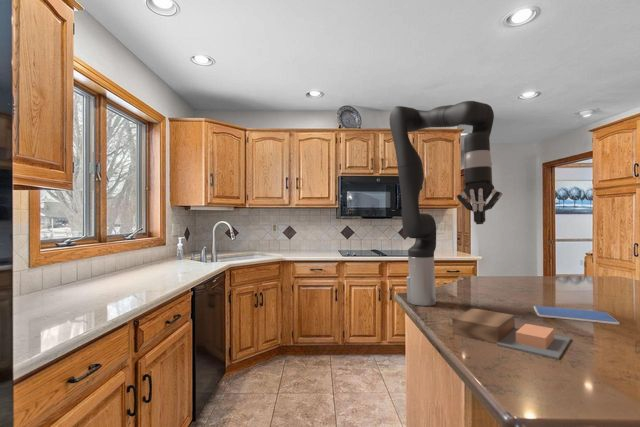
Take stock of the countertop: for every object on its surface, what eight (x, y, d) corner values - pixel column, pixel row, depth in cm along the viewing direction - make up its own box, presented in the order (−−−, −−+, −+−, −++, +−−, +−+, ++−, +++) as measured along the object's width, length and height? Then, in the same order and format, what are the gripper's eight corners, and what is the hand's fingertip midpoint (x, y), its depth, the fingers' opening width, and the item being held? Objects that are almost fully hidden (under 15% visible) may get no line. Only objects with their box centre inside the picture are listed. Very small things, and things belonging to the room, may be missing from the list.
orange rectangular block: (545, 338, 73) (546, 349, 73) (553, 328, 79) (554, 338, 79) (515, 332, 77) (516, 342, 77) (525, 323, 83) (526, 333, 83)
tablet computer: (606, 315, 100) (606, 311, 100) (621, 327, 89) (621, 322, 89) (533, 309, 109) (533, 305, 110) (538, 318, 98) (538, 314, 98)
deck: (453, 333, 85) (452, 318, 85) (472, 321, 95) (472, 308, 95) (498, 344, 77) (497, 327, 77) (514, 329, 87) (514, 315, 87)
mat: (496, 345, 77) (496, 343, 77) (515, 329, 88) (515, 327, 88) (558, 359, 68) (558, 357, 68) (570, 339, 79) (570, 337, 79)
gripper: (450, 169, 99) (452, 224, 99) (497, 162, 90) (499, 224, 89) (460, 171, 105) (462, 224, 104) (505, 165, 95) (508, 223, 95)
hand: (479, 224), depth 97 cm, fingers closed
